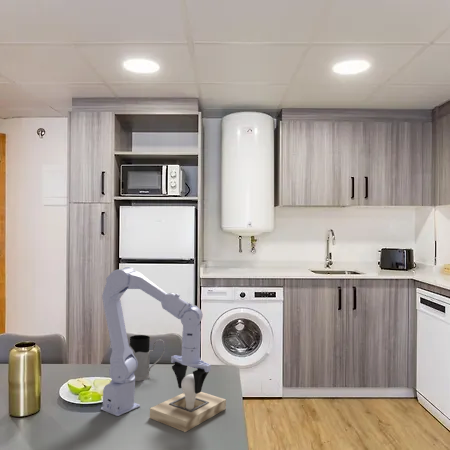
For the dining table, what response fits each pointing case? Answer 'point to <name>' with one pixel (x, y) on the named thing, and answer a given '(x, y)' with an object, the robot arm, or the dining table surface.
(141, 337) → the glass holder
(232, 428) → the dining table surface
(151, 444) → the dining table surface
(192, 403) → the lightbulb
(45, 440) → the dining table surface
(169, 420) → the socket plate
